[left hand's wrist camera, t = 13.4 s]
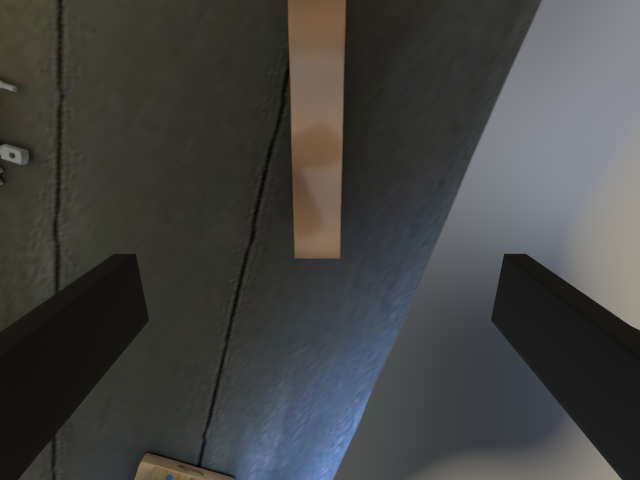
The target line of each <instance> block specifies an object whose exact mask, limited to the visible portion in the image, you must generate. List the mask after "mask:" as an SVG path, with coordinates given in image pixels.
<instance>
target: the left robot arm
mask: <svg viewBox="0 0 640 480" xmlns="http://www.w3.org/2000/svg"><path fill="white" fill-rule="evenodd" d="M148 321H149V318H148V313H147V308H146V303H145V298H144V293H143V288H142V283H141V278H140V273H139V268H138V263H137V258H136V254H113V255H112V256H110V257H109V258H108V259H106V260H105V261H103V262H102V263H100V264H99V265H97V266H96V267H94V268H93V269H92V270H90V271H89V272H87V273H86V274H84V275H83V276H81V277H80V278H78V279H77V280H76V281H74V282H73V283H71V284H70V285H68V286H67V287H65V288H64V289H62V290H61V291H60V292H58V293H57V294H55V295H54V296H52V297H51V298H49V299H48V300H46V301H45V302H44V303H42V304H41V305H39V306H38V307H36V308H35V309H33V310H32V311H30V312H29V313H28V314H26V315H25V316H23V317H22V318H20V319H19V320H17V321H16V322H14V323H13V324H12V325H10V326H9V327H7V328H6V329H4V330H3V331H1V332H0V480H18V479H19V478H20V476H21V475H22V474H23V473H24V472H25V470H26V469H27V468H28V467H29V466H30V464H31V463H32V462H33V461H34V459H35V458H36V457H37V456H38V455H39V453H40V452H41V451H42V450H43V449H44V447H45V446H46V445H47V444H48V442H49V441H50V440H51V439H52V438H53V436H54V435H55V434H56V433H57V432H58V430H59V429H60V428H61V427H62V425H63V424H64V423H65V422H66V421H67V419H68V418H69V417H70V416H71V414H72V413H73V412H74V411H75V410H76V408H77V407H78V406H79V405H80V404H81V402H82V401H83V400H84V399H85V397H86V396H87V395H88V394H89V393H90V391H91V390H92V389H93V388H94V387H95V385H96V384H97V383H98V382H99V380H100V379H101V378H102V377H103V376H104V374H105V373H106V372H107V371H108V370H109V368H110V367H111V366H112V365H113V363H114V362H115V361H116V360H117V359H118V357H119V356H120V355H121V354H122V352H123V351H124V350H125V349H126V348H127V346H128V345H129V344H130V343H131V342H132V340H133V339H134V338H135V337H136V335H137V334H138V333H139V332H140V331H141V329H142V328H143V327H144V326H145V325H146V323H147V322H148ZM491 321H492V322H493V323H494V325H495V326H496V327H497V328H498V329H499V331H500V332H501V333H502V334H503V335H504V337H505V338H506V339H507V340H508V342H509V343H510V344H511V345H512V346H513V348H514V349H515V350H516V351H517V352H518V354H519V355H520V356H521V357H522V359H523V360H524V361H525V362H526V363H527V365H528V366H529V367H530V368H531V370H532V371H533V372H534V373H535V374H536V376H537V377H538V378H539V379H540V380H541V382H542V383H543V384H544V385H545V387H546V388H547V389H548V390H549V391H550V393H551V394H552V395H553V396H554V397H555V399H556V400H557V401H558V402H559V404H560V405H561V406H562V407H563V408H564V410H565V411H566V412H567V413H568V414H569V416H570V417H571V418H572V419H573V421H574V422H575V423H576V424H577V425H578V427H579V428H580V429H581V430H582V432H583V433H584V434H585V435H586V436H587V438H588V439H589V440H590V441H591V442H592V444H593V445H594V446H595V447H596V449H597V450H598V451H599V452H600V453H601V455H602V456H603V457H604V458H605V459H606V461H607V462H608V463H609V464H610V466H611V467H612V468H613V469H614V470H615V472H616V473H617V474H618V475H619V476H620V478H621V479H622V480H640V330H638V329H636V328H634V327H632V326H630V325H628V324H627V323H625V322H624V321H623V320H621V319H620V318H618V317H617V316H615V315H614V314H612V313H611V312H610V311H608V310H607V309H605V308H604V307H602V306H601V305H599V304H598V303H596V302H595V301H593V300H592V299H591V298H589V297H588V296H586V295H585V294H583V293H582V292H580V291H579V290H578V289H576V288H575V287H573V286H572V285H570V284H569V283H567V282H566V281H564V280H563V279H561V278H560V277H559V276H557V275H556V274H554V273H553V272H551V271H550V270H548V269H547V268H545V267H544V266H543V265H541V264H540V263H538V262H537V261H535V260H534V259H532V258H531V257H530V256H528V255H527V254H504V258H503V263H502V268H501V273H500V278H499V283H498V288H497V293H496V298H495V303H494V308H493V313H492V318H491Z"/></svg>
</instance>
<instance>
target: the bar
mask: <svg viewBox="0 0 640 480" xmlns="http://www.w3.org/2000/svg"><path fill="white" fill-rule="evenodd" d="M287 2H288V39H289V76H290V113H291V150H292V188H293V225H294V258H340V250H341V206H342V162H343V118H344V74H345V31H346V0H287Z"/></svg>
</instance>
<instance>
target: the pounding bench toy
mask: <svg viewBox="0 0 640 480" xmlns="http://www.w3.org/2000/svg"><path fill="white" fill-rule="evenodd" d="M135 480H235V479H234V478H232V477H229V476H226V475H222V474H219V473H215V472H212V471H208V470H205V469H202V468H198V467H195V466H191V465H188V464H184V463H181V462H178V461H174V460H171V459H168V458H164V457H160V456H157V455H153V454H150V453H146V454H145V455H144V457H143V459H142V461H141V462H140V465H139V468H138V471H137V474H136V477H135Z"/></svg>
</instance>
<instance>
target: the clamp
mask: <svg viewBox="0 0 640 480" xmlns="http://www.w3.org/2000/svg"><path fill="white" fill-rule="evenodd" d="M0 88H3V89H8V90H11V91H14V92H16V91H17V87H16V86H13V85H10V84H7V83H5V82H3V81H2V80H0ZM0 155H1V158H2V159H4V160H7V161H11V162H14V163H17V164H20V165H24V164H26V163H28V160H29V153H28V151H27V150H25V149H21V148H18V147H15V146H12V145H9V144H4V145H0ZM3 171H4V170H3V169H2V168H1V167H0V173H2V172H3ZM1 184H3V182H2V180H1V179H0V185H1Z"/></svg>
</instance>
